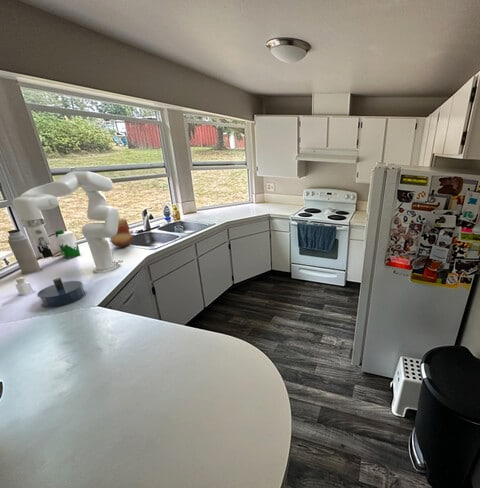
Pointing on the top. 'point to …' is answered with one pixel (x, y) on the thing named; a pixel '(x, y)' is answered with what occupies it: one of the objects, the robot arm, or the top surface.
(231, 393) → the top surface
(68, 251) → the milk carton
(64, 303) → the pot
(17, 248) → the thermos bottle
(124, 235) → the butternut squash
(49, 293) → the lid
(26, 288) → the pepper shaker
